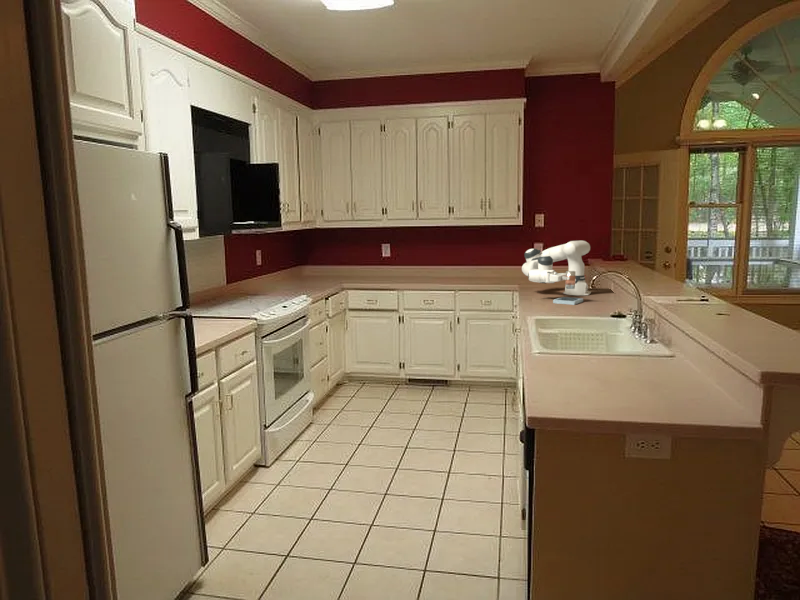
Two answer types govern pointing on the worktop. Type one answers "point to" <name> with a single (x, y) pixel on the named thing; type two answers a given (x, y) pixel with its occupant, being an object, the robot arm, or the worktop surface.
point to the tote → (568, 300)
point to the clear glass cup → (570, 280)
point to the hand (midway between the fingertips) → (571, 277)
